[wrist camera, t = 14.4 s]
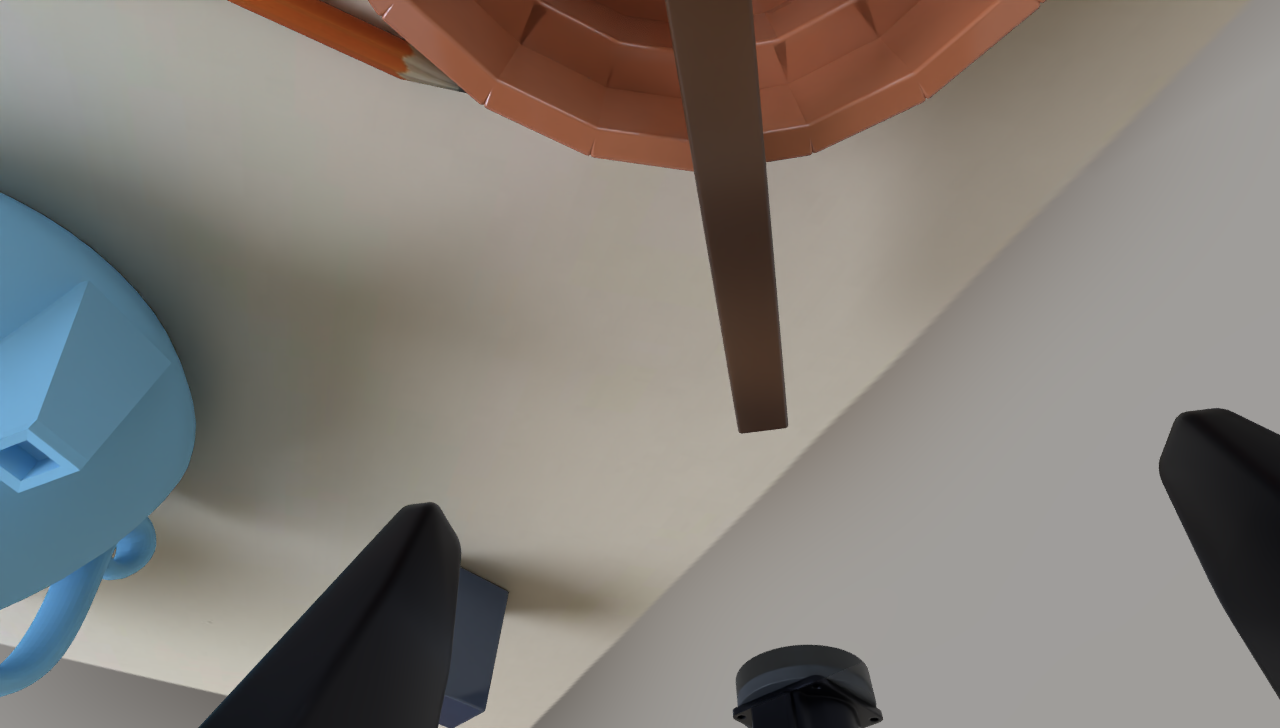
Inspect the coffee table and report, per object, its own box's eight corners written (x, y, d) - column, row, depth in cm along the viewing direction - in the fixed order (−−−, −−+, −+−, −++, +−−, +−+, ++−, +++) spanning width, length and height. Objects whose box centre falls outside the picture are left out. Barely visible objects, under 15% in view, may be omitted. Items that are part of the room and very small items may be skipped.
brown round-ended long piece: (809, 251, 21) (856, 420, 16) (667, 274, 21) (674, 443, 17) (783, -464, 11) (886, -546, 6) (517, -378, 11) (433, -399, 7)
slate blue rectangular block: (509, 591, 31) (485, 711, 27) (479, 611, 32) (451, 729, 28) (435, 553, 30) (398, 675, 25) (406, 575, 31) (365, 696, 27)
